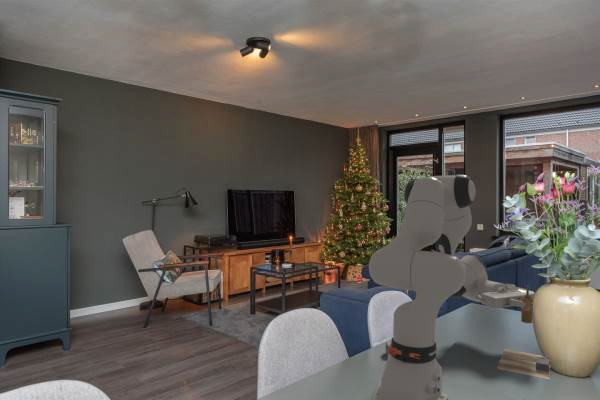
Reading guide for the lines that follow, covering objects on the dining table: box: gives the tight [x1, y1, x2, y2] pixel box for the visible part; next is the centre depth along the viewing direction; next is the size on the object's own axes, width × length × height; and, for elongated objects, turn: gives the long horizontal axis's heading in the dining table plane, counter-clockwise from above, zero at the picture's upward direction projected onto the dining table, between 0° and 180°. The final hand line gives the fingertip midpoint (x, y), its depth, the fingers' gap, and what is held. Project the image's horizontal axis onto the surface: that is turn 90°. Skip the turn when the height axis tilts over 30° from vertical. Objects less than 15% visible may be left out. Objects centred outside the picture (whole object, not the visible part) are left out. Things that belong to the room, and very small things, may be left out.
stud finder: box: [536, 355, 550, 372], centre depth 132 cm, size 6×4×2 cm, turn 149°
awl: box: [520, 284, 534, 324], centre depth 139 cm, size 3×3×12 cm
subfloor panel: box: [496, 348, 551, 381], centre depth 135 cm, size 20×14×1 cm
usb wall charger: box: [385, 341, 391, 357], centre depth 143 cm, size 4×7×4 cm, turn 91°
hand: (529, 304), depth 139 cm, fingers closed on awl, 3 cm apart
